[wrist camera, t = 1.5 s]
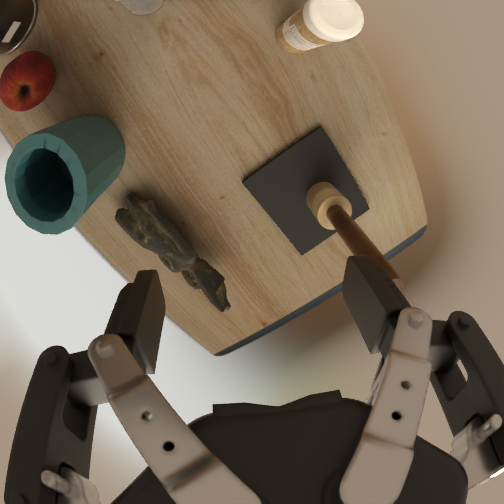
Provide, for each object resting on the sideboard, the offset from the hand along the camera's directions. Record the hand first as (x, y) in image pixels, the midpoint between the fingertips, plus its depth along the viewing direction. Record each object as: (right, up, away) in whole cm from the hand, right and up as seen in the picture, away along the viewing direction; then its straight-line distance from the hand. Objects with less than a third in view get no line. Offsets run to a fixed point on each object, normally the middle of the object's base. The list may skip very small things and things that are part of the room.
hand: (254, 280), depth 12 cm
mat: (+8, +9, +25) cm, 28 cm away
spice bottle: (+5, +26, +14) cm, 30 cm away
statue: (-10, +3, +27) cm, 29 cm away
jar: (-20, +14, +19) cm, 31 cm away
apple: (-27, +23, +12) cm, 37 cm away
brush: (+9, +8, +25) cm, 28 cm away
